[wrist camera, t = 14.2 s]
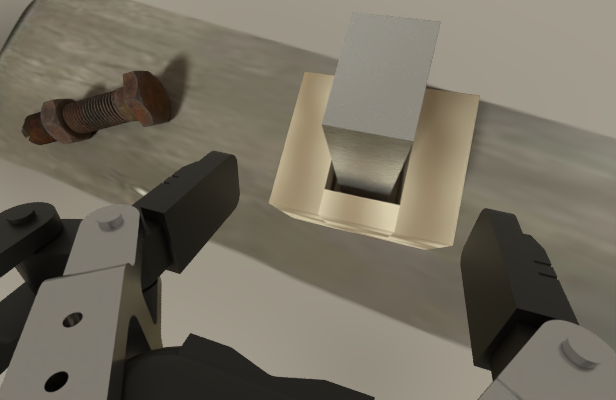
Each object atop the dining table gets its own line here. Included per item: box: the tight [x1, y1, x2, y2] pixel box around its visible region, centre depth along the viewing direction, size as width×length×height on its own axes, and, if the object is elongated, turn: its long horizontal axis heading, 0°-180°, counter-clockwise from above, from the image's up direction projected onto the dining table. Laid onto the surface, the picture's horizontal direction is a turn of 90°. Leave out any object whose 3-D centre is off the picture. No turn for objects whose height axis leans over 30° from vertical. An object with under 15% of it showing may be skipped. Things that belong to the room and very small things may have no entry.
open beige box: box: [269, 72, 480, 250], centre depth 25 cm, size 12×10×8 cm
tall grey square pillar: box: [322, 13, 440, 202], centre depth 19 cm, size 4×5×14 cm
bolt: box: [21, 71, 171, 145], centre depth 33 cm, size 6×5×15 cm
